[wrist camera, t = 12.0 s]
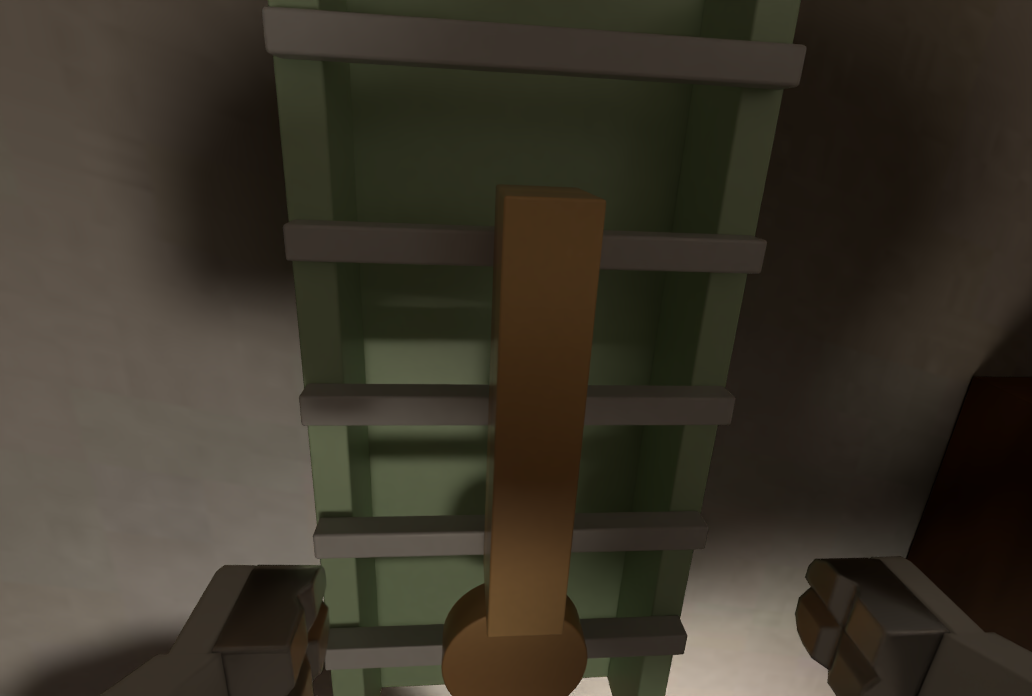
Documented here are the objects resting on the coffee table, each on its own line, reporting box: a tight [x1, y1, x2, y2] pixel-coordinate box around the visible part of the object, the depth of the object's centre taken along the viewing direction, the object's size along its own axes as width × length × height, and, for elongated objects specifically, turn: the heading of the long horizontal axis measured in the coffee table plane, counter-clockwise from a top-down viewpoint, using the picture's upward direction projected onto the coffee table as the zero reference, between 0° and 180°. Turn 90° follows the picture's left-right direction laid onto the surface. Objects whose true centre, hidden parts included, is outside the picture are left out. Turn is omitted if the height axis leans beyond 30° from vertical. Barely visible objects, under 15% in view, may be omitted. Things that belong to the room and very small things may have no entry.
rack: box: [262, 0, 807, 696], centre depth 17 cm, size 24×11×5 cm, turn 177°
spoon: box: [441, 184, 606, 696], centre depth 13 cm, size 14×4×2 cm, turn 177°
